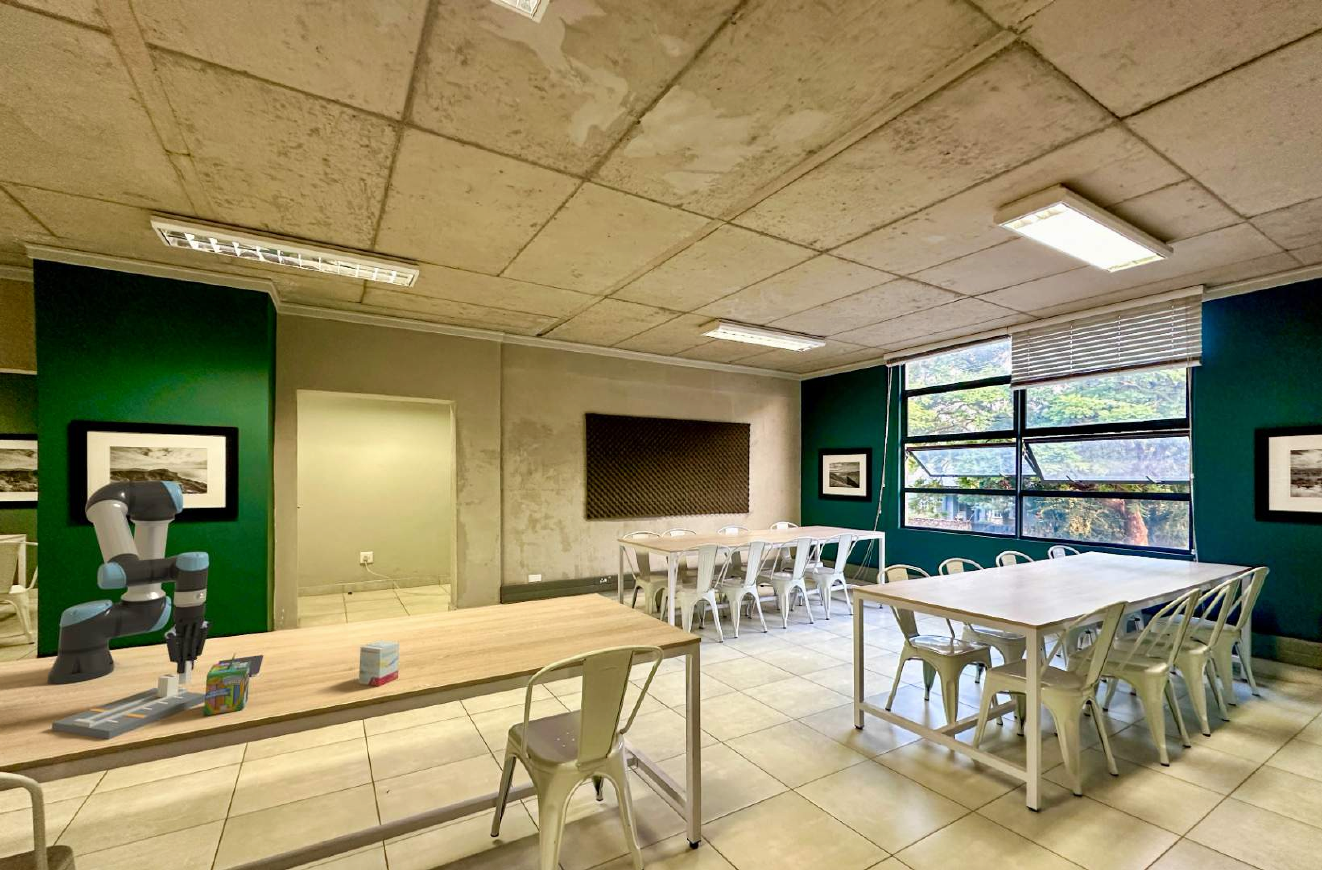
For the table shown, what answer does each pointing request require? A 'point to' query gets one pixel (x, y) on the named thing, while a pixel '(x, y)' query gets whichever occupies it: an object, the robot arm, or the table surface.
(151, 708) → the console
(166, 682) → the fader tab
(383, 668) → the ink box
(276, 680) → the table surface
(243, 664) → the chalk box
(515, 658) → the table surface
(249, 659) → the notebook
